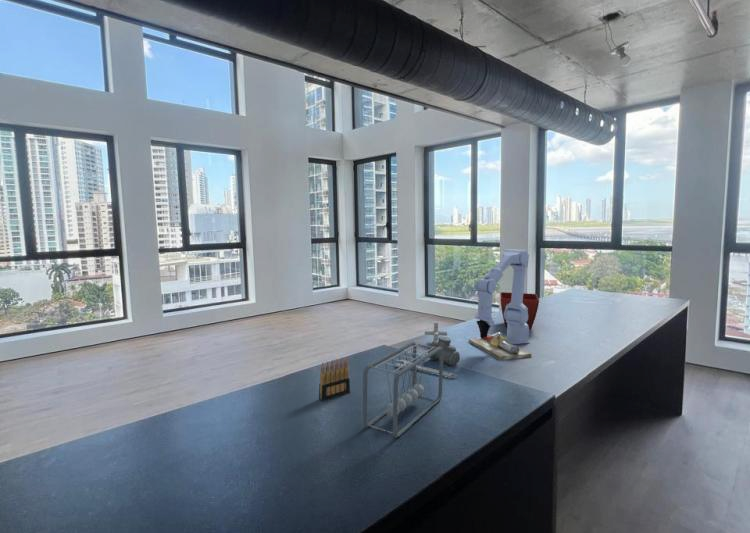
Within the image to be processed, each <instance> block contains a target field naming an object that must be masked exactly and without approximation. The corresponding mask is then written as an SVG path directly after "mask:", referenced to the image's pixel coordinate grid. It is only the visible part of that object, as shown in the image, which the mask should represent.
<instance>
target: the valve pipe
mask: <svg viewBox="0 0 750 533" xmlns="http://www.w3.org/2000/svg"><path fill="white" fill-rule="evenodd" d="M487 335H491V334H490V333H488V334H487ZM479 338H481V335H480V334H479ZM482 339H483V338H482ZM489 342H491V345H493V346H495V347H497V348H503V349H505V350H506V351H508V352H510V353H511V354H512V355H516V354H518V353H519V348H520V347H519V346H517V345H515V346H512V345H510V344H508V343H507V337H505V336H503V335H499V336H496V337H494V338H493V339H492V340H489ZM518 347H519V348H518Z"/></svg>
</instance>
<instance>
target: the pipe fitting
mask: <svg viewBox="0 0 750 533" xmlns="http://www.w3.org/2000/svg"><path fill="white" fill-rule="evenodd" d="M451 343H452V338H449V337H448V336H443V335H439V336H438V340H435V341H434V340H433V341H432V342H430V344H429V345H428V346H432V347H442V348H443V363H445V364H447V365H449V366H451V367H455V366H456V365H458V363H459V362H460V358H461V354H460V353H459V351H457V349H456V347H455V346H452V345H451ZM427 348H428V349H427V351H428V350H429V349H431V347H427ZM434 349H436V348H433V349H432V350H430V351H429V352H431V351H433V350H434ZM429 352H427V353H426V354H428V353H429ZM428 359H430V360H432V361H437V360H439V359H440V351H438V352H437V353H435V354H434V355H432V356H430V357H429V358H428Z"/></svg>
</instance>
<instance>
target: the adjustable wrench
mask: <svg viewBox="0 0 750 533" xmlns="http://www.w3.org/2000/svg"><path fill="white" fill-rule="evenodd" d="M398 360H400V361H398ZM403 361H404V362H403ZM400 362H401V366H403V365H405V364H406V363H407V362H410V360H407V361H406V359H396V363H395V367H396V368H397V367H398V368H400ZM412 363H413V362H411V363H409V364H408V366H409V365H410V364H412ZM396 365H398V366H396ZM405 367H407V365H406V366H404V367H403V368H402V369H404V368H405ZM417 367H418V369H417ZM422 367H423V370H422ZM398 368H397V369H398ZM412 369H413V368H412ZM412 369H411V370H412ZM417 370H421V371H425V372H429V373H434V374H439V369H434V368H430V367H425V366H423V365H419V364H418V365H416V371H417ZM421 371H420V372H421ZM425 372H424V373H425ZM429 373H428V374H429ZM443 376H447V377H451V378H456V377H457V376H458V375H457V374H455V373H452V372H447V371H444V370H443ZM457 378H458V377H457ZM457 378H456V379H457Z"/></svg>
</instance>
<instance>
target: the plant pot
mask: <svg viewBox="0 0 750 533" xmlns="http://www.w3.org/2000/svg"><path fill="white" fill-rule="evenodd" d="M499 294H500V307H501V313H502V317H503V323H504V327H505V328H506V329H507V324H508V323H507V322H506V320H505V319H504V312H505V309H506V305H508V304H509V303H511V296H512V292H505V291H504V292H503V291H502V292H500V293H499ZM522 303H523V304H524V305H525V306H526V307H527V308H528V321H527V322H526V324H527V325H528V327H529V330H532V327H533V325H534V322H535V321H536V317H537V313H538V309H539V303H540V299H539V297H538V295H537V294H536V293H527V292H526V293H525V292H523V302H522ZM512 309H513V308H512ZM517 310H519V309H517Z"/></svg>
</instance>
